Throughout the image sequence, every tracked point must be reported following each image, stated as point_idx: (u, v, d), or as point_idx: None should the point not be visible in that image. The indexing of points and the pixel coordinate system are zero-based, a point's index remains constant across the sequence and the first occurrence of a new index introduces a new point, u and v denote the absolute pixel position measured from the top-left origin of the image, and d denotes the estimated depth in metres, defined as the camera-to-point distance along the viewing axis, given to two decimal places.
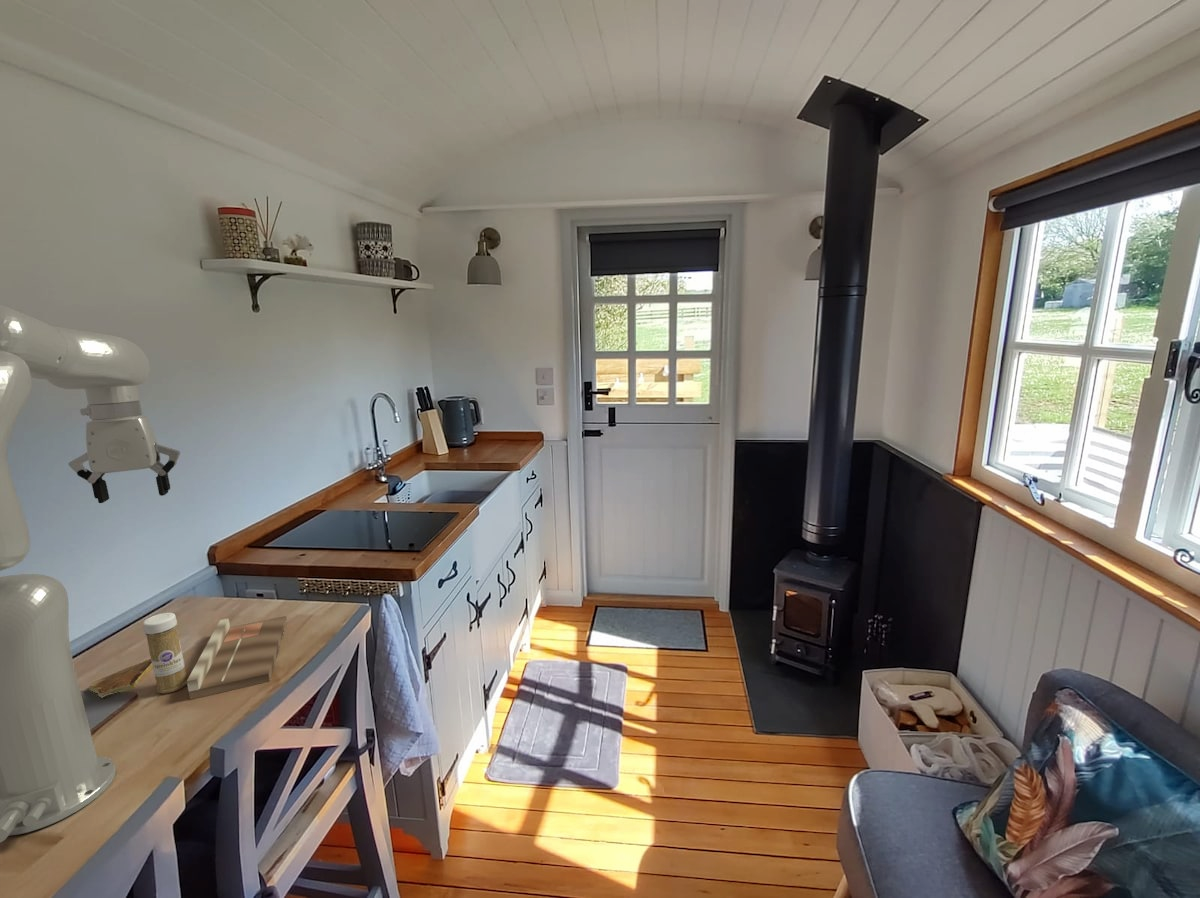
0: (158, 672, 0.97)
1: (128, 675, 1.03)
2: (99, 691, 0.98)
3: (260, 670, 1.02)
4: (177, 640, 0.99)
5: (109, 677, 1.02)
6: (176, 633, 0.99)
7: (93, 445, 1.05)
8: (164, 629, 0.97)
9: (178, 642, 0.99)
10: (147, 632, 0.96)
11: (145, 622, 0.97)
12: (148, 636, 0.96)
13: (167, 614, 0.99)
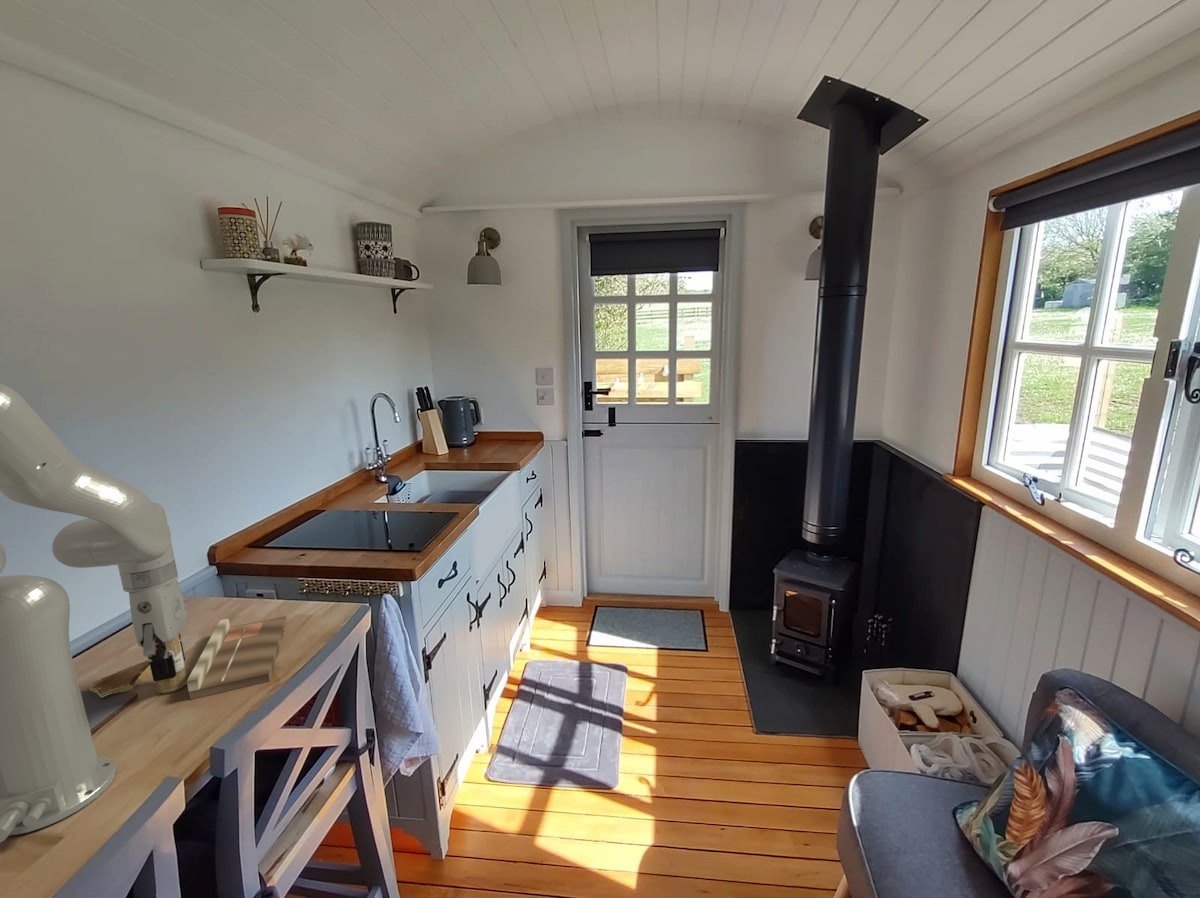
0: None
1: (128, 675, 1.03)
2: (99, 691, 0.98)
3: (260, 670, 1.02)
4: (177, 640, 0.99)
5: (109, 677, 1.02)
6: None
7: (167, 611, 0.95)
8: None
9: (178, 642, 0.99)
10: None
11: None
12: None
13: None
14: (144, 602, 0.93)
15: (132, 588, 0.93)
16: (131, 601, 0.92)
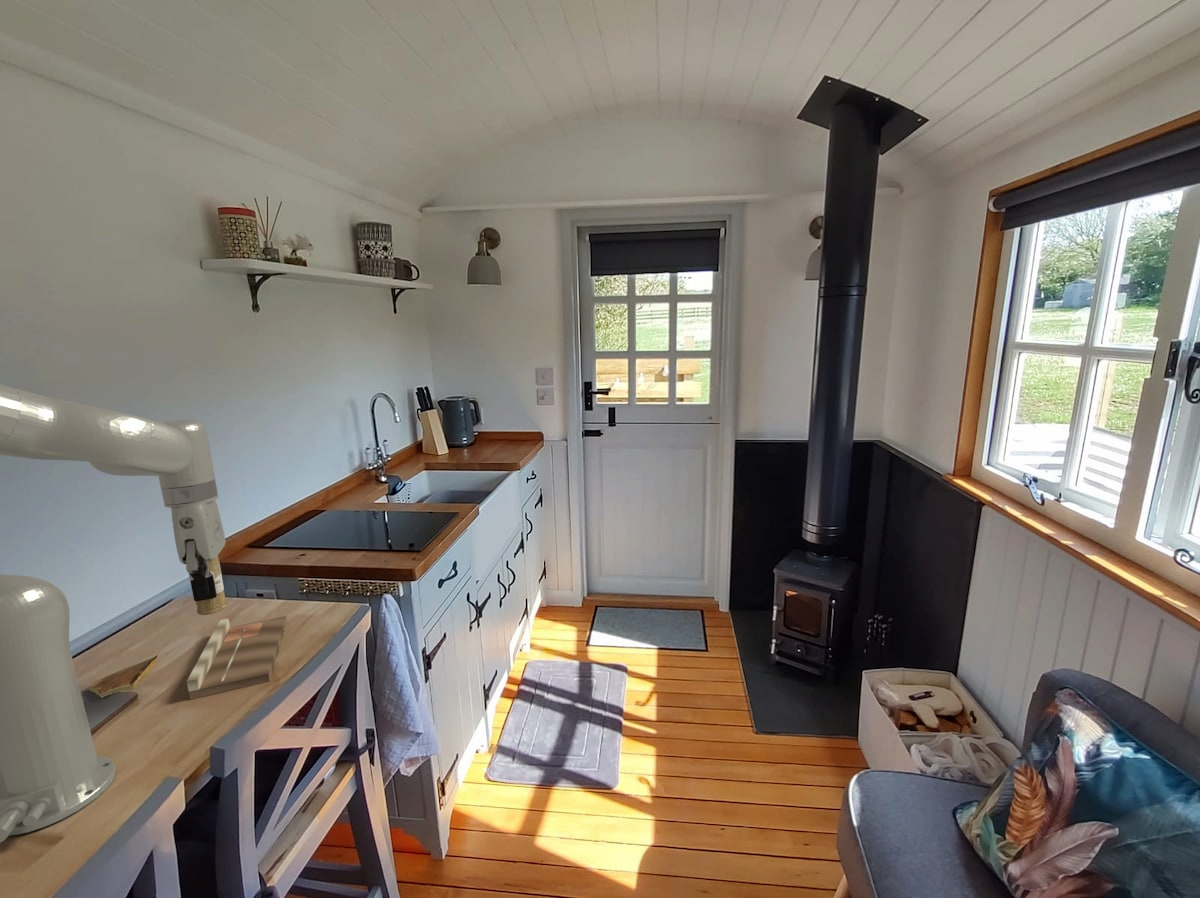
0: None
1: (128, 675, 1.03)
2: (99, 691, 0.98)
3: (260, 670, 1.02)
4: (217, 561, 0.98)
5: (109, 677, 1.02)
6: None
7: (209, 528, 0.94)
8: None
9: (218, 564, 0.98)
10: None
11: None
12: None
13: None
14: (186, 518, 0.92)
15: (174, 503, 0.91)
16: (173, 516, 0.91)
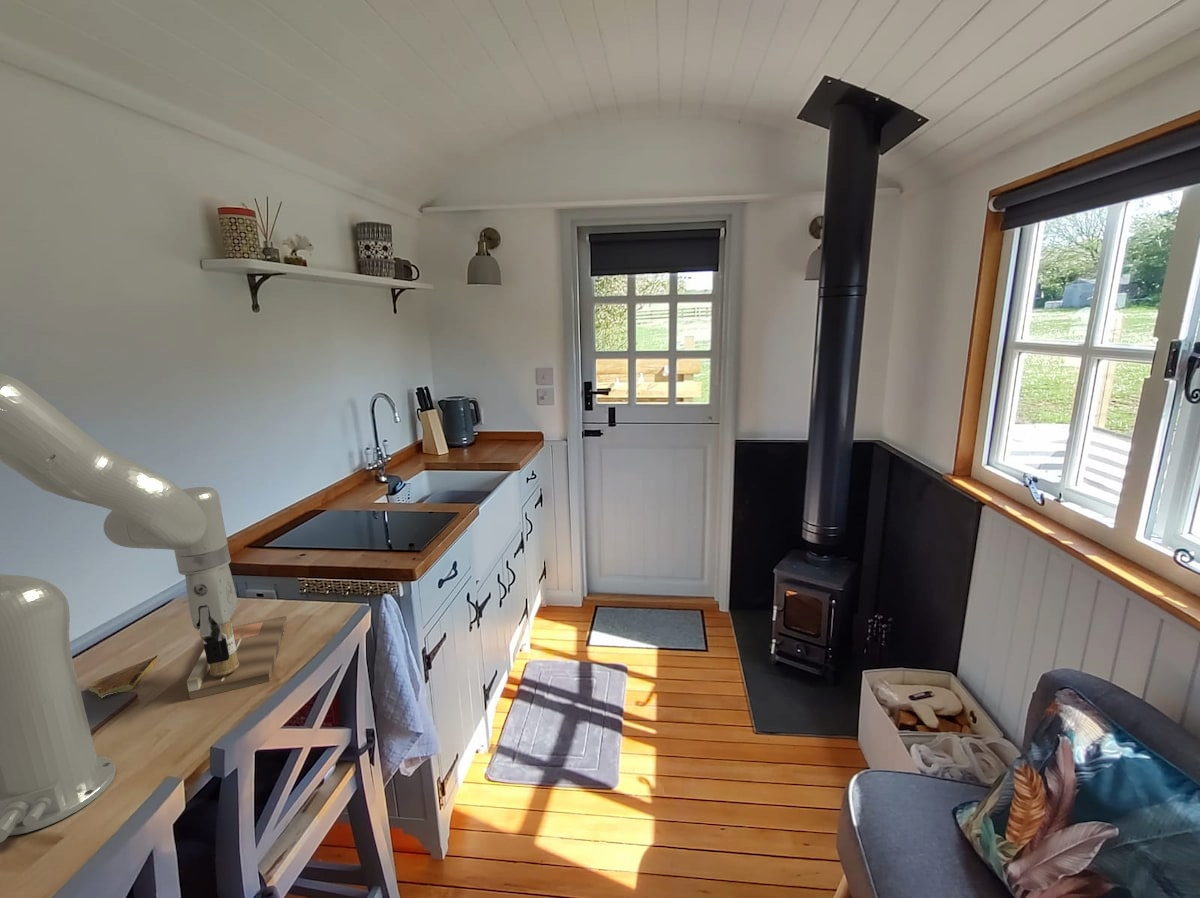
0: None
1: (128, 675, 1.03)
2: (99, 691, 0.98)
3: (260, 670, 1.02)
4: (229, 623, 1.00)
5: (108, 677, 1.02)
6: None
7: (222, 594, 0.96)
8: None
9: (230, 625, 1.00)
10: None
11: None
12: None
13: None
14: (200, 585, 0.94)
15: (188, 571, 0.94)
16: (188, 584, 0.93)
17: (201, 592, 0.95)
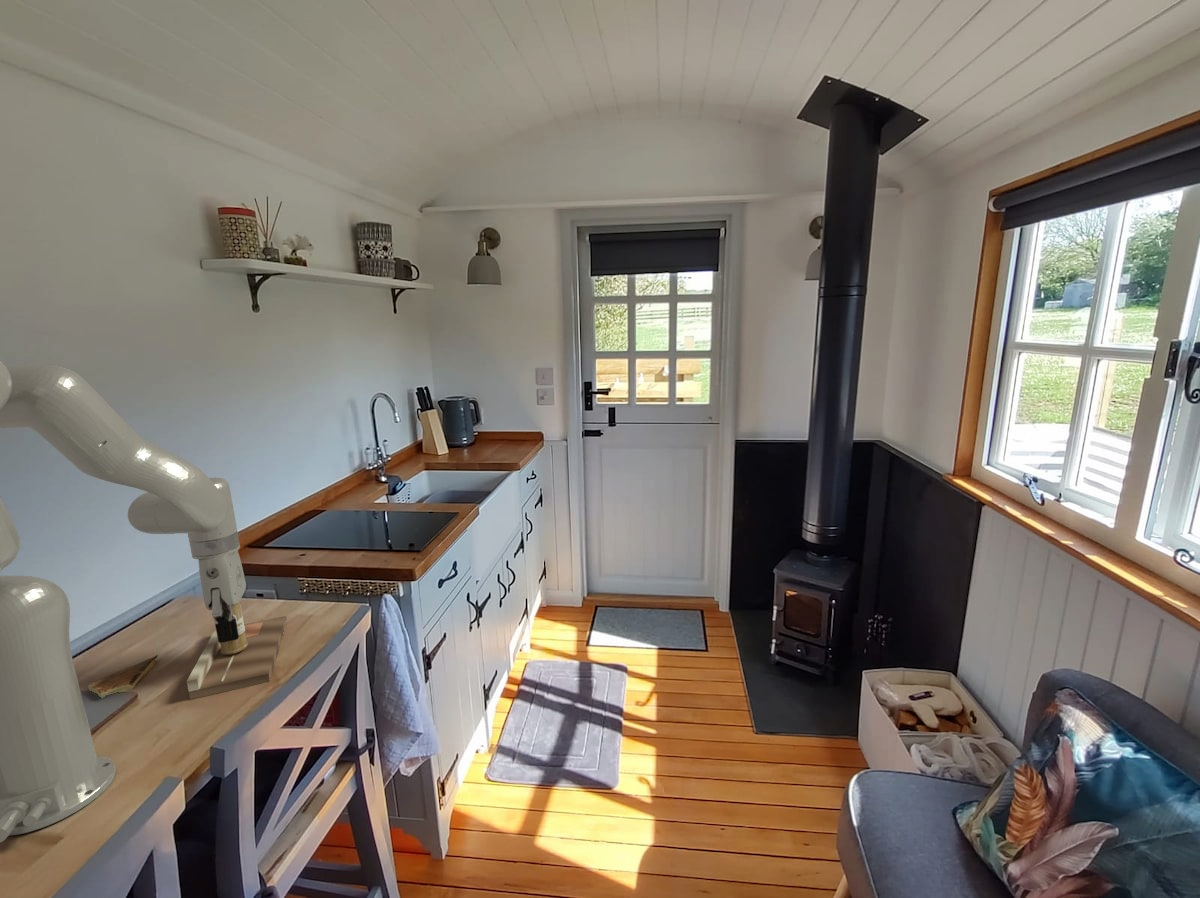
0: None
1: (127, 675, 1.03)
2: (99, 691, 0.98)
3: (260, 670, 1.02)
4: (239, 605, 1.07)
5: (108, 677, 1.02)
6: None
7: (232, 577, 1.03)
8: None
9: (240, 607, 1.08)
10: None
11: None
12: None
13: None
14: (212, 568, 1.02)
15: (201, 555, 1.01)
16: (201, 567, 1.00)
17: (213, 575, 1.02)
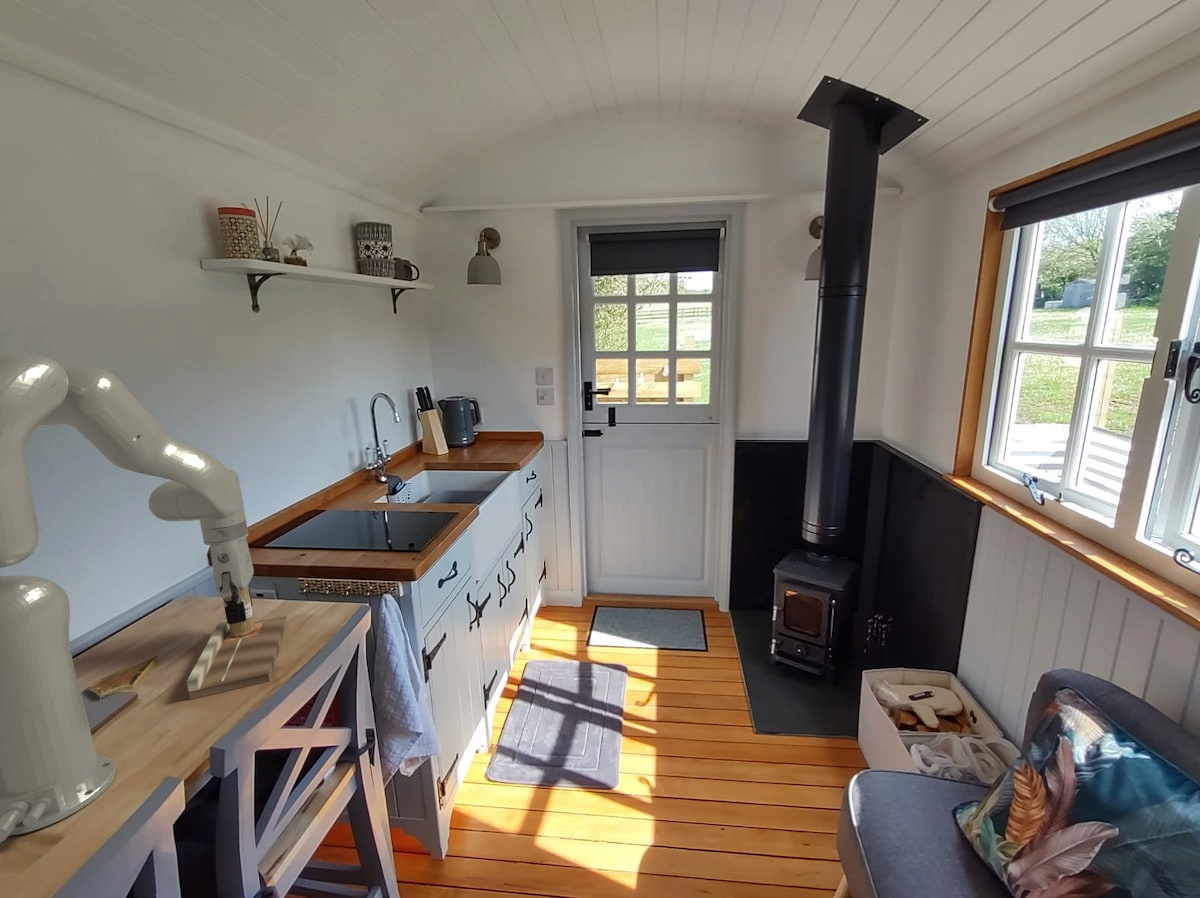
0: None
1: (127, 675, 1.03)
2: (99, 691, 0.98)
3: (260, 670, 1.02)
4: (247, 591, 1.15)
5: (108, 677, 1.02)
6: None
7: (241, 562, 1.11)
8: None
9: (248, 593, 1.15)
10: None
11: None
12: None
13: None
14: (222, 554, 1.09)
15: (213, 542, 1.08)
16: (212, 552, 1.08)
17: (223, 560, 1.09)
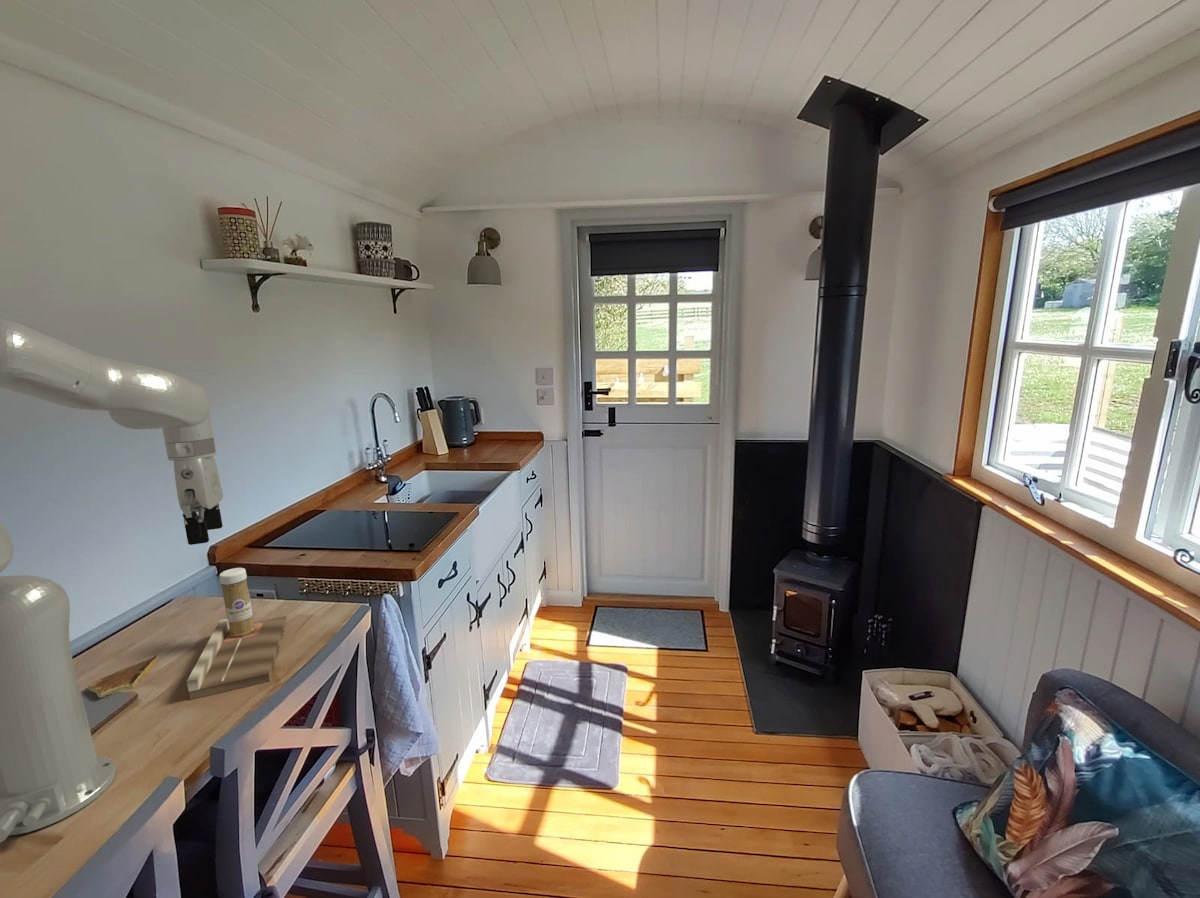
0: (231, 618, 1.13)
1: (127, 675, 1.03)
2: (98, 691, 0.98)
3: (260, 670, 1.02)
4: (247, 591, 1.15)
5: (108, 677, 1.02)
6: (246, 585, 1.15)
7: (207, 480, 1.05)
8: (238, 581, 1.12)
9: (248, 593, 1.15)
10: (223, 583, 1.11)
11: (221, 574, 1.12)
12: (224, 586, 1.12)
13: (238, 569, 1.14)
14: (187, 470, 1.03)
15: (176, 456, 1.02)
16: (175, 468, 1.02)
17: (188, 477, 1.03)
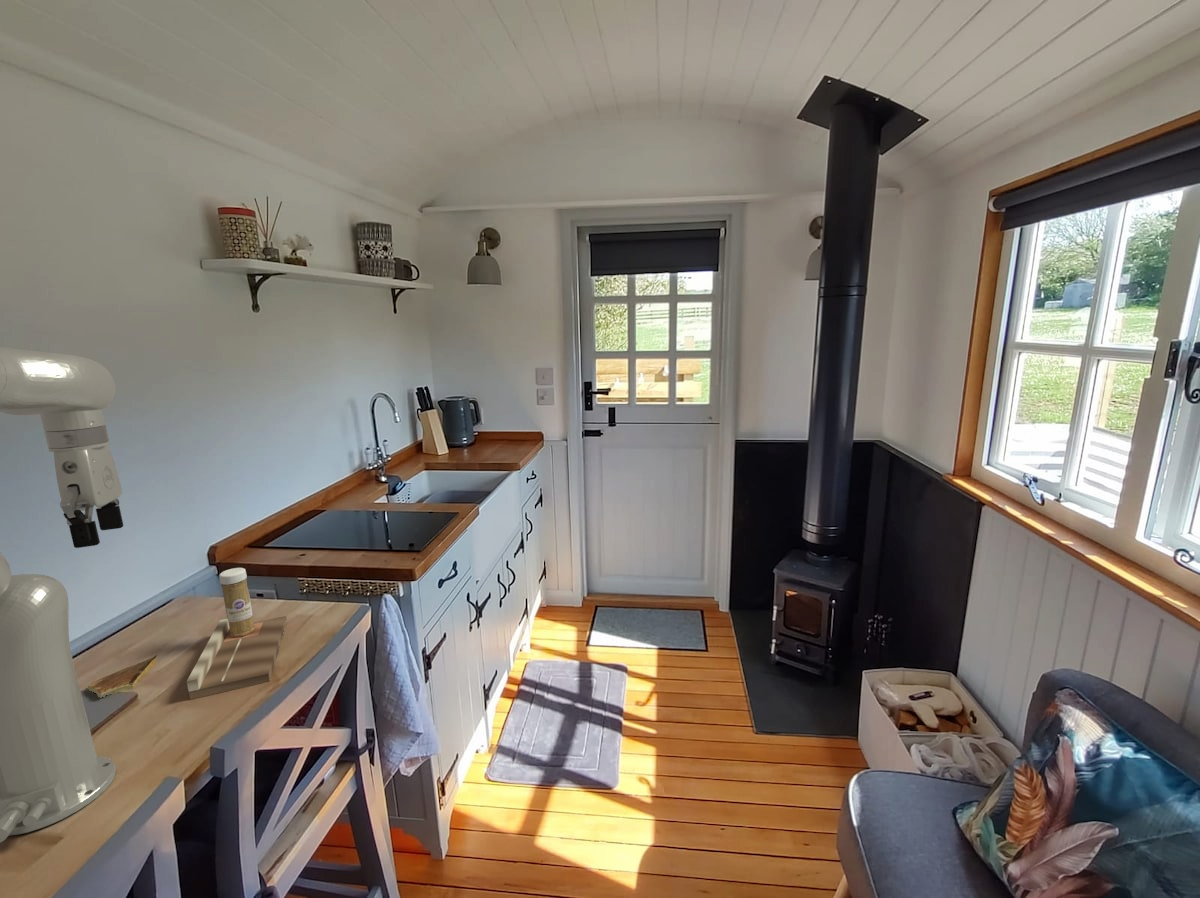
0: (231, 618, 1.13)
1: (127, 675, 1.03)
2: (98, 691, 0.98)
3: (260, 670, 1.02)
4: (247, 591, 1.15)
5: (108, 677, 1.02)
6: (246, 585, 1.15)
7: (96, 474, 0.92)
8: (238, 581, 1.12)
9: (248, 593, 1.15)
10: (223, 583, 1.11)
11: (221, 574, 1.12)
12: (224, 586, 1.12)
13: (238, 569, 1.14)
14: (70, 463, 0.90)
15: (57, 447, 0.89)
16: (56, 460, 0.89)
17: (72, 471, 0.90)
